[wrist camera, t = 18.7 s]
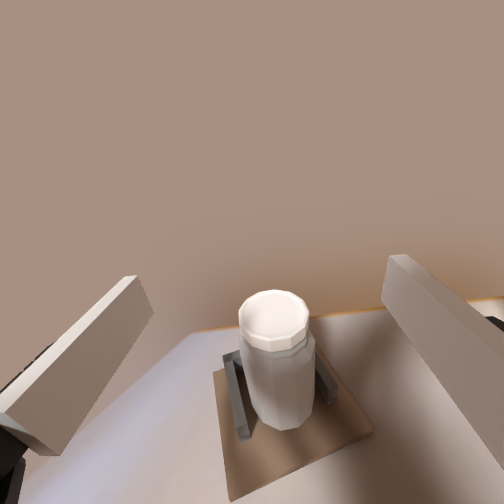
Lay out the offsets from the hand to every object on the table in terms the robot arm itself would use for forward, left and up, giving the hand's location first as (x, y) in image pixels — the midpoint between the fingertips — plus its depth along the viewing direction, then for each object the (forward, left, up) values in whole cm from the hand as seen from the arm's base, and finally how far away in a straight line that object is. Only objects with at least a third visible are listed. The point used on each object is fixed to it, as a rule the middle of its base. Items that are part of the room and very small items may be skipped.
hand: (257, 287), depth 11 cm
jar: (-3, -9, -29) cm, 31 cm away
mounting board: (-3, -9, -30) cm, 32 cm away
